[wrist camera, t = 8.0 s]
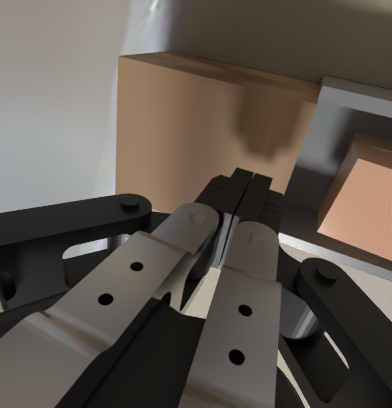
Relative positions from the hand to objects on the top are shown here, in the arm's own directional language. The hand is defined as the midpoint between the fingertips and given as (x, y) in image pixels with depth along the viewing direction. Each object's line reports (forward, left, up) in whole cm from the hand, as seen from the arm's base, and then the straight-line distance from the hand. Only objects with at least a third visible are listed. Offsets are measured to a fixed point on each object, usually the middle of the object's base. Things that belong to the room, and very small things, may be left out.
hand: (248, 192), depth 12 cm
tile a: (+6, 0, -5) cm, 8 cm away
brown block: (-3, 0, -8) cm, 9 cm away
